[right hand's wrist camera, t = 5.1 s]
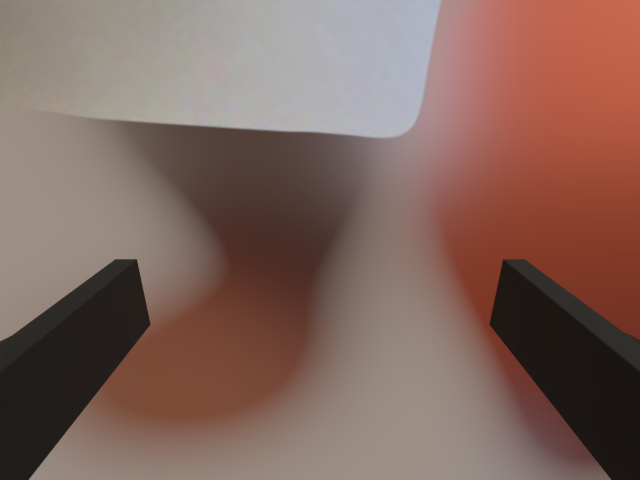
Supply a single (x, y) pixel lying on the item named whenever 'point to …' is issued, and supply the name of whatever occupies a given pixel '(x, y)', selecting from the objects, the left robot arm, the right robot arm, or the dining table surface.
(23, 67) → the dining table surface
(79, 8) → the dining table surface
